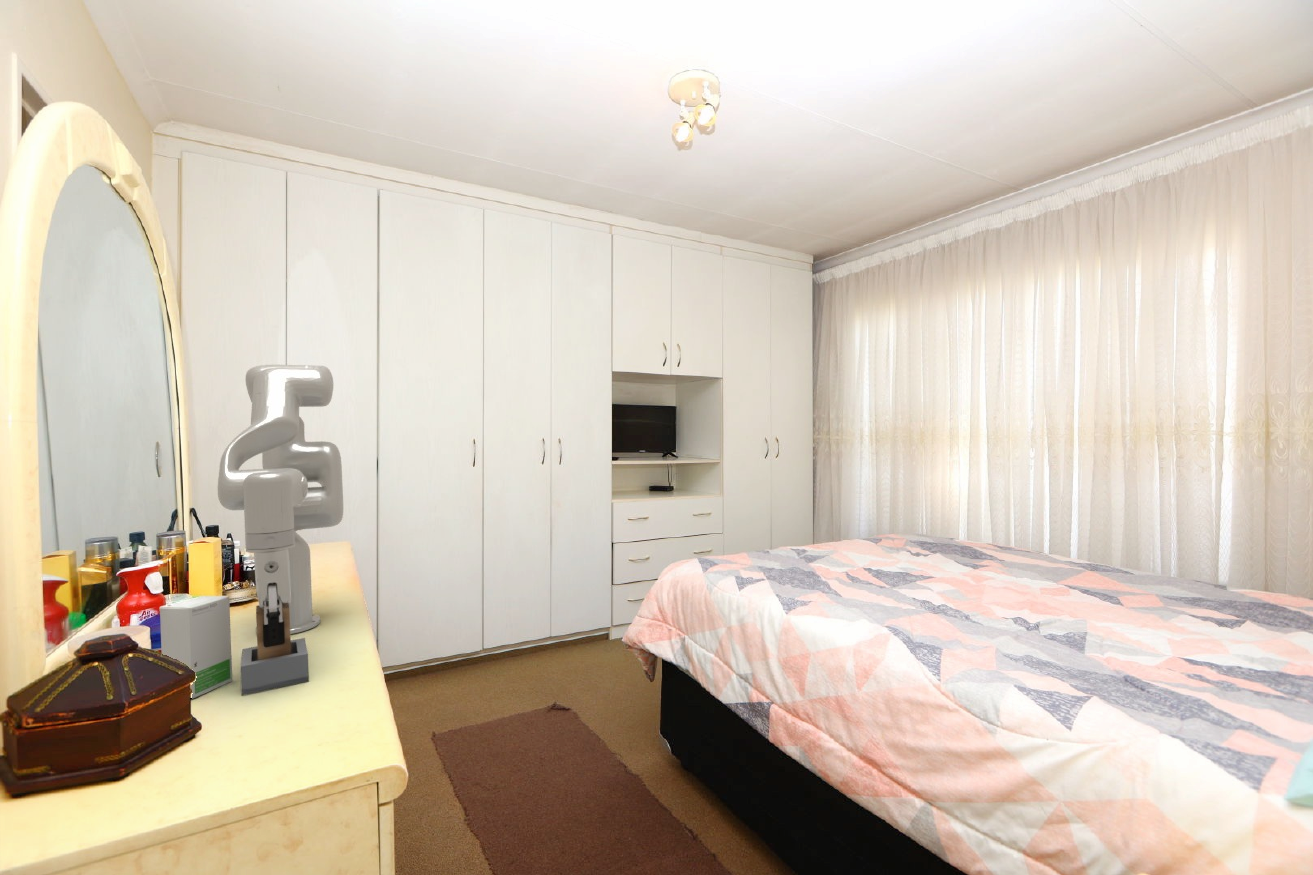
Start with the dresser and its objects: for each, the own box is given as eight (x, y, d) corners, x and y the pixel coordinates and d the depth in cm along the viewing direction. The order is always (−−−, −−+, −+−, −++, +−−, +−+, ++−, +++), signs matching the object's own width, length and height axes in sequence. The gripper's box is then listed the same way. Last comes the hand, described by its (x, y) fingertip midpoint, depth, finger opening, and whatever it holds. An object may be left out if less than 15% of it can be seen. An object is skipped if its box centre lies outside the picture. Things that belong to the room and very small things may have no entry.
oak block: (290, 654, 115) (288, 600, 115) (291, 662, 111) (289, 607, 111) (258, 660, 113) (256, 605, 112) (258, 668, 108) (256, 612, 108)
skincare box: (191, 700, 104) (187, 608, 103) (159, 698, 105) (155, 607, 105) (235, 680, 112) (231, 594, 111) (204, 677, 113) (201, 593, 113)
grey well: (243, 675, 114) (242, 648, 113) (305, 663, 119) (304, 637, 119) (241, 695, 105) (240, 666, 105) (308, 681, 110) (307, 653, 110)
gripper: (296, 545, 106) (300, 650, 107) (292, 531, 121) (296, 624, 121) (244, 551, 102) (248, 660, 103) (246, 536, 117) (250, 632, 117)
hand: (274, 639), depth 112 cm, fingers closed on oak block, 5 cm apart
